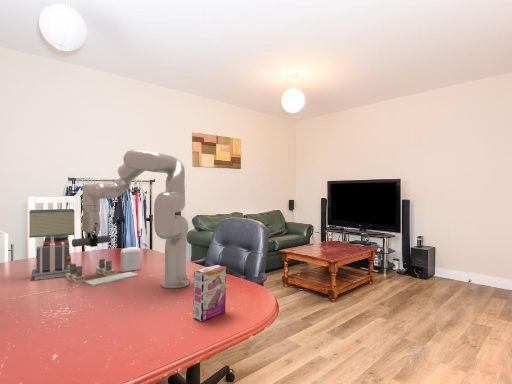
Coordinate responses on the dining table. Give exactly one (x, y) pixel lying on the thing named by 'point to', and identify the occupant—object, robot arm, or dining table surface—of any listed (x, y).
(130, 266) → the photo printer
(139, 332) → the dining table surface
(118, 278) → the mat
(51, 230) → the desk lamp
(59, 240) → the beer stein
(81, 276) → the clamp board
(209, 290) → the candy bar box
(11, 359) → the dining table surface
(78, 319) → the dining table surface
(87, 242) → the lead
